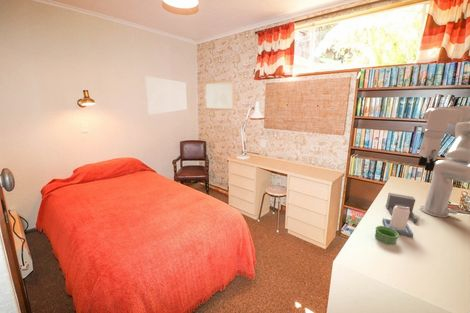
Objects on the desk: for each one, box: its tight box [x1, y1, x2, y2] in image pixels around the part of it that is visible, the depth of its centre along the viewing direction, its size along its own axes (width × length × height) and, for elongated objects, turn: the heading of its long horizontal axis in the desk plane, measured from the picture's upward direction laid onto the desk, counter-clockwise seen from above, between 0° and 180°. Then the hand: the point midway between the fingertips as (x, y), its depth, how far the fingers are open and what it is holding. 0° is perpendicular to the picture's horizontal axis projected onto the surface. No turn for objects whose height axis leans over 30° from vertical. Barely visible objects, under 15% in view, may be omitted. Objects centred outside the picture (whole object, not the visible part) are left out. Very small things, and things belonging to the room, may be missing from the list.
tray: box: [382, 217, 414, 239], centre depth 112 cm, size 11×11×2 cm
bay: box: [385, 192, 418, 224], centre depth 127 cm, size 12×16×9 cm
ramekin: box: [374, 225, 400, 245], centre depth 103 cm, size 9×9×4 cm
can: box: [390, 204, 410, 231], centre depth 111 cm, size 6×6×12 cm
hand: (425, 168), depth 113 cm, fingers open, 9 cm apart
